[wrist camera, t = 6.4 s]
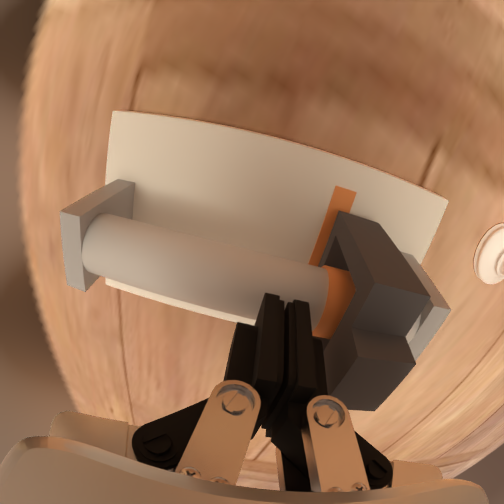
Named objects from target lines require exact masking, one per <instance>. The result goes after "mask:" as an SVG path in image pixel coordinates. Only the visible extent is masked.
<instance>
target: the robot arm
mask: <svg viewBox="0 0 504 504" xmlns="http://www.w3.org/2000/svg"><path fill="white" fill-rule="evenodd" d="M261 424H262V425H261ZM260 426H261V427H262V428H263V429H266V437H271V442H272V443H273V444H274V445H275V446H276V461H277V470H278V479H279V488H280V491H277V490H266V489H257V488H249V487H242V486H236V483H237V480H238V477H239V474H240V471H241V468H242V465H243V462H244V458H245V455H246V452H247V449H248V446H249V443H250V440H251V439H253V438H254V436H255V434H256V433H257V431H258V429H259V428H260ZM0 504H489V502H488V498H487V496H486V493H485V491H484V490H483V489H482V488H481V487H480V486H479V485H477V484H475V483H473V482H470V481H466V480H460V479H443V477H442V473H441V471H440V469H439V468H438V467H437V466H435V465H432V464H423V463H415V462H407V461H400V460H393V461H389V460H388V459H387V458H386V457H385V456H384V455H383V454H381V453H380V452H379V451H378V450H377V449H375V448H374V447H373V446H372V445H371V444H369V443H368V442H367V441H366V440H365V439H364V438H362V437H361V436H360V435H359V434H358V433H357V432H355V431H354V428H353V425H352V421H351V418H350V414H349V411H348V409H347V407H346V406H345V405H344V404H343V402H341V401H340V400H338V399H337V398H335V397H332V396H328V391H327V381H326V371H325V362H324V354H323V345H322V341H321V340H320V339H316V338H313V336H312V326H311V316H310V306H309V302H305V301H301V300H296V299H294V300H293V302H288V303H287V305H286V307H285V310H284V301H283V300H280V296H279V295H275V294H270V293H266V292H265V294H264V297H263V300H262V303H261V306H260V309H259V313H258V316H257V319H256V322H255V325H250V324H245V323H241V322H237V325H236V329H235V332H234V336H233V340H232V344H231V348H230V353H229V357H228V362H227V367H226V371H225V376H224V381H223V382H221V383H219V384H218V385H216V386H215V388H214V389H213V391H212V392H211V395H210V397H209V398H207V399H205V400H203V401H201V402H198V403H196V404H194V405H192V406H189V407H187V408H185V409H182V410H180V411H177V412H175V413H173V414H170V415H168V416H165V417H163V418H160V419H158V420H155V421H152V422H150V423H147V424H145V425H143V426H135V425H129V424H128V422H123V421H117V420H112V419H106V418H101V417H96V416H91V415H87V414H83V413H78V412H74V411H64V412H60V413H59V414H57V415H56V416H55V417H54V419H53V421H52V424H51V428H50V433H49V436H33V437H27V438H24V439H22V440H21V441H19V442H18V443H17V444H16V445H15V446H14V447H13V448H12V449H11V450H10V451H9V453H8V454H7V455H6V457H5V458H4V460H3V461H2V463H1V465H0Z"/></svg>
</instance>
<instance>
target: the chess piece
mask: <svg viewBox="0 0 504 504" xmlns="http://www.w3.org/2000/svg"><path fill="white" fill-rule="evenodd" d="M474 271H475V274H476V275H477V277H478V278H479V279H480V280H482V281H483V282H484V283H486V284H495V283H498V282H500V281H502V280H503V279H504V223H501V224H497V225H495V226H493V227H492V228H491V229H490V230H488V231H487V233H486V234H485V235H484V236H483V238H482V239H481V241H480V243H479V245H478V247H477V249H476V252H475V256H474Z"/></svg>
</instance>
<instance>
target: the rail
mask: <svg viewBox="0 0 504 504" xmlns="http://www.w3.org/2000/svg"><path fill="white" fill-rule="evenodd" d="M448 202H449V201H448V200H447V199H445V198H444V197H442V196H441V195H439V194H436V193H434V192H432V191H430V190H428V189H425V188H423V187H421V186H418V185H416V184H414V183H411V182H409V181H407V180H404V179H402V178H399V177H397V176H394V175H392V174H389V173H387V172H384V171H382V170H379V169H376V168H374V167H371V166H368V165H365V164H363V163H360V162H357V161H354V160H351V159H348V158H345V157H342V156H339V155H336V154H333V153H330V152H327V151H324V150H320V149H317V148H314V147H310V146H307V145H304V144H300V143H297V142H293V141H289V140H286V139H282V138H278V137H274V136H270V135H266V134H262V133H258V132H254V131H249V130H245V129H241V128H236V127H231V126H226V125H221V124H216V123H211V122H206V121H200V120H194V119H188V118H182V117H175V116H169V115H161V114H154V113H145V112H136V111H126V110H116V111H113V113H112V120H111V127H110V135H109V144H108V154H107V165H106V180H105V186H103V187H102V188H100V189H98V190H96V191H94V192H92V193H91V194H89V195H87V196H85V197H83V198H82V199H80V200H78V201H76V202H75V203H73V204H71V205H70V206H68V207H66V208H65V209H63V210H61V211H60V224H61V237H62V248H63V257H64V266H65V273H66V280H67V285H69V286H71V287H74V288H76V289H79V290H81V291H84V292H86V291H87V290H88V289H89V288H90V286H91V285H92V284H93V283H94V282H95V281H96V280H97V279H98V278H99V276H102V277H105V278H106V285H109V286H112V287H115V288H118V289H121V290H124V291H127V292H130V293H133V294H136V295H139V296H143V297H146V298H149V299H152V300H156V301H159V302H162V303H166V304H169V305H173V306H176V307H180V308H183V309H187V310H190V311H194V312H197V313H201V314H205V315H209V316H212V317H216V318H220V319H224V320H228V321H232V322H236V323H237V322H241V323H245V324H250V325H255V322H256V319H257V316H258V313H259V309H260V306H261V303H262V300H263V297H264V294H265V292H266V293H270V294H275V295H279V296H280V300H283V301H284V310H285V307H286V305H287V303H288V302H293V300H294V299H296V300H301V301H305V302H309V306H310V316H311V326H312V336H316V337H321V338H326V339H331V337H332V336H333V334H334V332H335V330H336V328H337V326H338V325H339V323H340V321H341V319H342V317H343V315H344V313H345V311H346V310H347V308H348V306H349V304H350V302H351V300H352V298H353V296H354V294H355V292H356V288H355V285H354V282H353V280H352V277H351V274H350V272H349V271H346V270H342V269H338V268H334V267H330V266H326V265H324V266H322V267H318V264H319V262H320V259H321V257H322V254H323V252H324V249H325V246H326V244H327V241H328V238H329V236H330V233H331V230H332V228H333V225H334V222H335V219H336V217H337V214H338V211H343V212H346V213H349V214H352V215H356V216H359V217H362V218H365V219H368V220H371V221H374V222H377V223H379V224H380V225H381V227H382V228H383V229H384V230H385V232H386V233H387V234H388V236H389V237H390V238H391V240H392V241H393V242H394V244H395V245H396V247H397V248H398V249H399V251H400V252H401V253H402V255H403V256H404V258H405V259H406V260H407V262H408V263H409V265H410V266H411V268H412V269H413V271H414V272H415V273H416V275H417V276H418V278H419V279H420V281H421V282H422V284H423V285H424V287H425V289H426V290H427V292H428V293H429V295H430V296H431V297H430V299H429V301H428V302H427V304H426V306H425V307H424V309H423V311H422V312H421V314H420V315H419V317H418V319H417V320H416V322H415V323H414V325H413V326H412V328H411V329H410V331H409V332H408V334H407V335H406V340H407V342H408V344H409V347H410V349H411V352H412V354H413V357H414V359H415V361H416V360H417V358H418V357H419V356H420V354H421V353H422V352H423V350H424V349H425V348H426V346H427V345H428V344H429V342H430V341H431V339H432V338H433V337H434V335H435V334H436V332H437V331H438V329H439V328H440V327H441V325H442V324H443V322H444V321H445V319H446V318H447V316H448V314H449V313H450V311H451V309H450V307H449V306H448V304H447V303H446V301H445V300H444V298H443V297H442V295H441V294H440V292H439V291H438V289H437V288H436V286H435V285H434V284H433V282H432V281H431V279H430V278H429V277H428V275H427V274H426V272H425V271H424V270H423V268H422V267H421V266H420V264H421V262H422V260H423V258H424V256H425V254H426V252H427V250H428V248H429V246H430V244H431V242H432V240H433V237H434V235H435V233H436V231H437V228H438V226H439V224H440V222H441V219H442V217H443V214H444V212H445V210H446V207H447V205H448Z"/></svg>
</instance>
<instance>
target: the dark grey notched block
mask: <svg viewBox="0 0 504 504" xmlns="http://www.w3.org/2000/svg"><path fill="white" fill-rule="evenodd" d="M324 265H326V266H330V267H334V268H338V269H342V270H346V271H349V272H350V274H351V277H352V280H353V282H354V285H355V288H356V292H355V294H354V296H353V298H352V300H351V302H350V304H349V306H348V308H347V310H346V311H345V313H344V315H343V317H342V319H341V321H340V323H339V325H338V326H337V328H336V330H335V332H334V334H333V336H332V337H331V339H326V338H321V337H316V336H313V338H316V339H320V340H321V341H322V345H323V354H324V362H325V371H326V381H327V391H328V396H332V397H335V398H337V399H338V400H340V401H341V402H343V404H344V405H345V406H346V407H347V409H348V410H362V411H375V410H376V409H377V408H378V407H379V406H380V405H381V404H382V403H383V402H384V401H385V400H386V399H387V397H388V396H389V395H390V394H391V393H392V392H393V391H394V390H395V389H396V387H397V386H398V385H399V384H400V383H401V382H402V380H403V379H404V378H405V377H406V376H407V375H408V373H409V372H410V371H411V370H412V368H413V367H414V366H415V365H416V362H415V359H414V357H413V354H412V352H411V349H410V347H409V344H408V342H407V340H406V335H407V334H408V332H409V331H410V329H411V328H412V326H413V325H414V323H415V322H416V320H417V319H418V317H419V315H420V314H421V312H422V311H423V309H424V307H425V306H426V304H427V302H428V301H429V299H430V297H431V296H430V295H429V293H428V292H427V290H426V289H425V287H424V285H423V284H422V282H421V281H420V279H419V278H418V276H417V275H416V273H415V272H414V271H413V269H412V268H411V266H410V265H409V263H408V262H407V260H406V259H405V258H404V256H403V255H402V253H401V252H400V251H399V249H398V248H397V247H396V245H395V244H394V242H393V241H392V240H391V238H390V237H389V236H388V234H387V233H386V232H385V230H384V229H383V228H382V227H381V225H380V224H379V223H377V222H374V221H371V220H368V219H365V218H362V217H359V216H356V215H352V214H349V213H346V212H343V211H338V214H337V217H336V219H335V222H334V225H333V228H332V230H331V233H330V236H329V238H328V241H327V244H326V246H325V249H324V252H323V254H322V257H321V259H320V262H319V264H318V267H322V266H324Z"/></svg>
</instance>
